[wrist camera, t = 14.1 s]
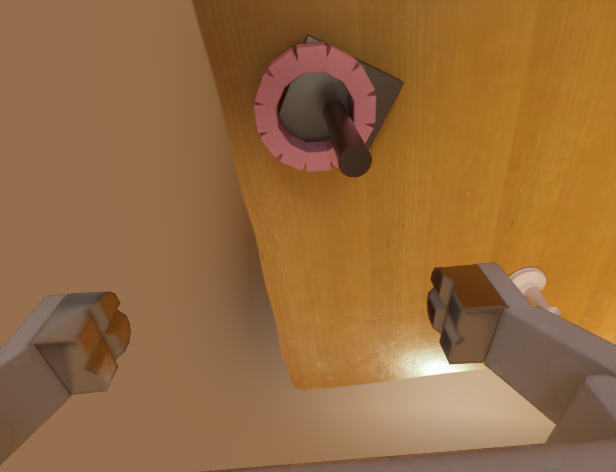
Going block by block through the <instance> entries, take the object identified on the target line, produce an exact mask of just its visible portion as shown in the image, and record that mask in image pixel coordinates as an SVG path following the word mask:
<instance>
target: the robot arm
mask: <svg viewBox="0 0 616 472" xmlns="http://www.w3.org/2000/svg"><path fill="white" fill-rule="evenodd" d="M431 282H432V284H433V286H434V287H433V288H432V289H431V290H430V291H429V292H428V297H427V312H428V316H429V320H430V322H431V325H432V327H433V329H435V330H436V331H438V332H439V333H441V337H440V345H441V347H442V349H443V351H444V353H445V355H446V358H447V360H448V362H449V364H465V363H484V362H485V363H484V364H485V365H486V366H487V367H488V368H489V369H491V370H492V371H493V372H494V373H495V374H497V375H498V376H499V377H500V378H501V379H503V380H504V381H505V382H506V383H507V384H508V385H510V386H511V387H512V388H513V389H515V391H517V392H518V393H519V394H520V395H522V396H523V397H524V398H525V399H526V400H527V401H529V402H530V403H531V404H532V405H533V406H534V407H536V408H537V409H538V410H539V411H540V412H542V413H543V414H544V415H545V416H546V417H548V418H549V419H550V420H551V421H552V422H553V423H555V424H556V426H555V428H554V429H553V431H552V432H551V434H550V436H549V437H548V439H547V441H546V443H544V444H532V445H519V446H507V447H495V448H483V449H471V450H459V451H446V452H435V453H422V454H411V455H410V454H409V455H397V456H385V457H373V458H360V459H348V460H336V461H324V462H311V463H300V464H288V465H275V466H263V467H251V468H238V469H227V470H214V471H202V472H616V345H615V344H613V343H611V342H609V341H607V340H605V339H603V338H601V337H599V336H597V335H595V334H593V333H591V332H589V331H587V330H585V329H583V328H581V327H579V326H577V325H575V324H573V323H571V322H569V321H567V320H566V319H564V318H562V317H560V316H558V315H556V314H554V313H552V312H550V311H548V310H546V309H544V308H542V307H540V306H536V307H533V306H532V305H531V303H530V302H529V301H528V300H527V299H526V297H525V296H524V295H523V294H522V293H521V291H520V290H519V289H518V288H517V287H516V285H515V284H514V283H513V282H512V280H511V279H510V278H509V277H508V276H507V274H506V273H505V272H504V271H503V270H502V268H501V267H500V266H499V265H498V264H496V263H494V262H490V263H480V264H473V265H461V266H449V267H436V268H434V270H433V271H432V275H431ZM119 305H120V301H119V299H118V298H117V296H116V294H115V293H113V292H91V293H71V294H59V295H50V296H47V297H45V298H44V299H43V300H42V301H41V302H40V303H39V304H38V306H37V307H36V308H35V309H34V310H33V312H32V313H31V314H30V315H29V316H28V318H27V319H26V320H25V321H24V323H23V324H22V325H21V326H20V327H19V328H18V330H17V331H16V332H15V333H14V335H13V336H12V337H11V338H10V339H9V340H8V342H7V343H6V344H5V345H4V347H0V465H1V464H2V463H3V462H4V461H5V460H6V459H7V458H8V457H9V456H10V455H11V454H12V453H13V452H14V451H16V450H17V448H19V447H20V446H21V445H22V444H23V443H24V442H25V441H26V440H27V439H28V438H29V437H30V436H31V435H32V434H33V433H34V432H35V431H36V430H37V429H38V428H39V427H40V426H41V425H42V424H43V423H45V421H47V419H49V418H50V417H51V416H52V415H53V414H54V413H55V412H56V411H57V410H58V409H59V408H60V407H61V406H62V405H63V404H64V403H65V402H66V401H67V400H68V399H69V398H70V397H71V395H74V394H83V393H93V392H102V391H107V390H108V388H109V386H110V383H111V381H112V379H113V377H114V375H115V373H116V371H117V368H118V365H117V362H116V359H117V358H118V357H119V356H121V355H122V354H123V353H124V352H125V351H126V349H127V346H128V344H129V341H130V334H131V329H130V323H129V321H128V318H127V316H126V315H125V314H123V313H122V312H120V311H119V310H117V309H118V307H119Z"/></svg>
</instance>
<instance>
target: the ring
mask: <svg viewBox="0 0 616 472" xmlns="http://www.w3.org/2000/svg"><path fill="white" fill-rule="evenodd" d="M296 49H297V55H296V53H295V52H294V50H293V48H292V47H290V48H289V49H287V50H286V51H285V52H284V53H282V54H281V55H280V56H278V57H277V58H276V59H275V60H273V61H272V62H271V63H270V64H269V67H268V68H266V70H265V72H264V75H263V78H262V80H261V83H260V85H259V88H258V91H257V93H256V96H255V99H254V101H255V104H254V114H255V120H256V127H257V132H258V133H261V135H260V139H261V141H262V142H263V143H264V144H265V146H266V147H267V148H268V150H269V151H270V152H271V153H272V155H273V156H274V157H275V158H277V157H278V156H280V162H282V163H284V164H286V165H289V166H291V167H293V168H296V169H298V170H300V171H302V170H303V168H304V166H305V164H306V171H307V172H314V171H326V170H331V162H332V164H333V165H334V167H335V168H338V167H339V165H338V162H337V158H336V155H335V152H334V148H333V145H332V142H331V138H328V139H327V140H325V141H317V142H305V141H303V140H301V139H298V138H296V137H294V136H292V135H290V133H289V132H288V131H287V129H286V128H285V126H284V125H283V124H282V122H281V121H280V119H279V110H278V102H279V100H280V97H281V95H282V92H283V90H284V88H285V87H286V86H287V85H288V84H290V83H291V82H292V81H294V80H295V79H296V78H298V77H299V76H300V75H302V74H308V73H320V72H325V73H326V74H328V75H330V76H332V77H334V78H336V79H338V80H340V81H342V82H343V84H344V86H345V88H346V89H347V91H348V93H349V115H350V117H351V119H352V121H353V122H354V124H355V126H356V128H357V130H358V132H359V134H360V135H361V137H362V139H363V141H364V143H366V141H367V139H368V138H369V136H370V134H371V132H372V131H373V129H374V128H373V127H372V125H371V123H375V119H376V95H375V94H374V93H373V91H374V90H375V89H374V87H373V85H372V83H371V81H370V80H369V78H368V76H367V74H366V72H365V70H364V68H363V67H362V65H361V64H360V63H358V62H357V60H356V59H355V58H354V57H352V56H351V55H349V54H347V53H345V52H344V51H342V50H340V49H338V48H336V47H335V46H333V45H331V44H328V46H327V47H326V45H325V44H324V42H318V43H307V44H297V45H296Z"/></svg>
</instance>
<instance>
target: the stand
mask: <svg viewBox="0 0 616 472" xmlns="http://www.w3.org/2000/svg"><path fill="white" fill-rule="evenodd" d="M318 42H323V41H321V40H319V39H317V38H315V37H313V36H311V35H309V34H307V36H306V39H305V41H304V44H307V43H318ZM324 44H325V45H326V47H327V46H328V44H327V43H325V42H324ZM352 57H353V56H352ZM354 58H355V57H354ZM355 59H356V60H357V62H358V63H360V64H361V65H362V67H363V68H364V70H365V72H366V74H367V76H368V78H369V80H370V81H371V83H372V85H373V87H374V89H375V90H374V91H373V93H374V94H375V95H376V119H375V123H371V125H372V127H373V128H374V129H373V131H372V132H371V134H370V136H369V138H368V139H367V141H366V143H364V141H363V139H362V137H361V135H360V134H359V132H358V130H357V128H356V126H355V124H354V122H353V121H352V119H351V117H350V115H349V93H348V91H347V89H346V88H345V86H344V84H343V82H342V81H340V80H338V79H336V78H334V77H332V76H330V75H328V74H326V73H325V72H320V73H308V74H302V75H300V76H299V77H298V78H296V79H295V80H294V81H292V82H291V83H290V84H288V87H287V89H286V92H285V95H284V98H283V100H282V103H281V106H280V108H279V119H280V121H281V122H282V124H283V125H284V126H285V128H286V129H287V131H288V132H289V133H290V135H292V136H294V137H296V138H298V139H301V140H303V141H305V142H317V141H325V140H327V139H328V138H331V142H332V145H333V148H334V152H335V155H336V158H337V162H338V165H339V168H340V170H341V172H342V173H343V174H345V175H346V176H349V177H359V176H361V175H363V174H365V173H366V172H367V171H368V170H369V168H370V166H371V162H372V157H371V154H370V152H369V148H370V146H371V144H372V142H373V140H374V139H375V137H376V135H377V133H378V131H379V129H380V127H381V126H382V124H383V122H384V120H385V118H386V116H387V114H388V112H389V111H390V109H391V107H392V105H393V103H394V101H395V99H396V98H397V96H398V94H399V92H400V90H401V88H402V86H403V84H404V82H403V81H401V80H400V79H398V78H395V77H393V76H391V75H389V74H387V73H385V72H383V71H381V70H379V69H377V68H375V67H373V66H371V65H369V64H367V63H365V62H363V61H361V60H359V59H357V58H355ZM331 164H332V162H331Z"/></svg>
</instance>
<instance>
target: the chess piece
mask: <svg viewBox="0 0 616 472" xmlns="http://www.w3.org/2000/svg"><path fill="white" fill-rule="evenodd" d="M509 278H510V279H511V280H512V282H513V283H514V284H515V285H516V287H517V288H518V289H519V290H520V291H521V293H522V294H523V295H524V296H525V297H526V299H530V300H531V301H532V302H533V303H534V304H535V305H536V306H540V307H542V308H544V309H546V310H548V311H550V312H552V313H554V314H556V315H558V316H560V314H561V312H560V310H559V308H557V307H550V306H549V304H548V303H547V301H546V300H545V298H544V297H543V295H542V294H541V292H540V291H541V290H542V289H543V288H544V286H545V284H546V277H545V275H544V274H543V272H542V271H541V270H539V269H537V268H532V267H530V268H524V269H521V270H518V271H516V272H515V273H513V274H512V275H511V276H510V277H509Z"/></svg>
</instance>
